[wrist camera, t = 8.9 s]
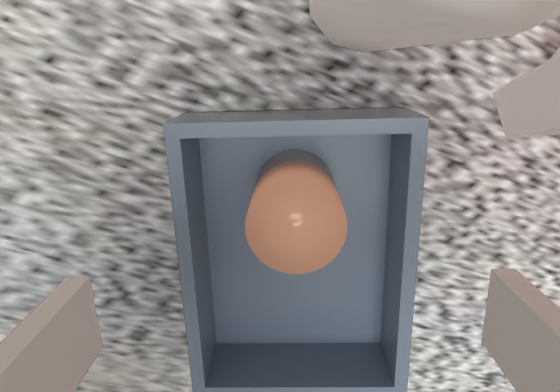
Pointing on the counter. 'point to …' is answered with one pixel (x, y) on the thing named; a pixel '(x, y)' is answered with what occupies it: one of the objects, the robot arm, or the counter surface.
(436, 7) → the white spray bottle
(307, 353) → the tote
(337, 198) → the peach rounded cylinder
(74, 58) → the counter surface
